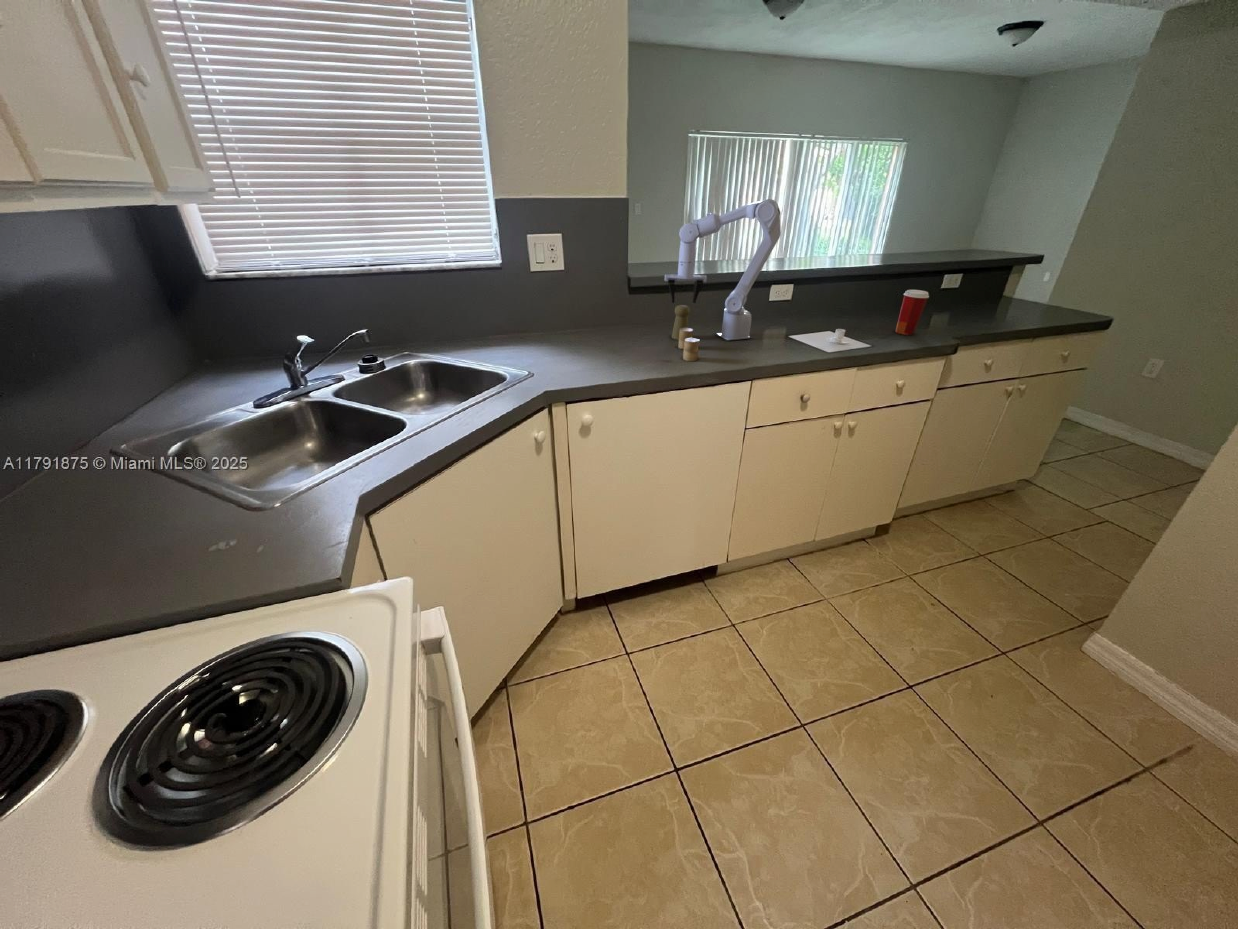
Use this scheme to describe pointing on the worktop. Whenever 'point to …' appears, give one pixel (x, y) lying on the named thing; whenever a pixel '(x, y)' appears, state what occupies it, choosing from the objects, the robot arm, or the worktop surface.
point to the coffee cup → (911, 311)
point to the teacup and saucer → (830, 341)
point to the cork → (680, 320)
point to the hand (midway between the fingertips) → (683, 302)
